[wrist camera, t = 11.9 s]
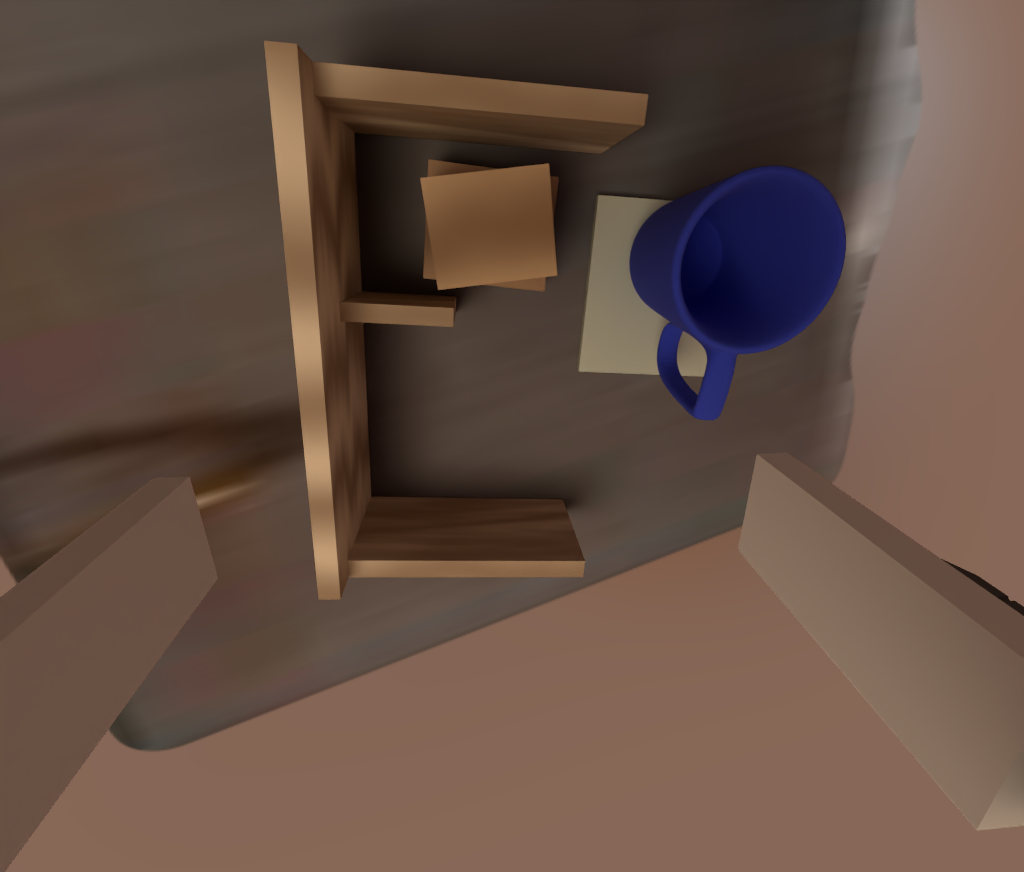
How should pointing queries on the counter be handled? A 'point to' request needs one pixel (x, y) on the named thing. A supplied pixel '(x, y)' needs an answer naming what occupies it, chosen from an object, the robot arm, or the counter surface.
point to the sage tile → (624, 299)
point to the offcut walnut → (429, 271)
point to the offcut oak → (490, 226)
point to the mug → (737, 271)
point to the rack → (400, 306)
